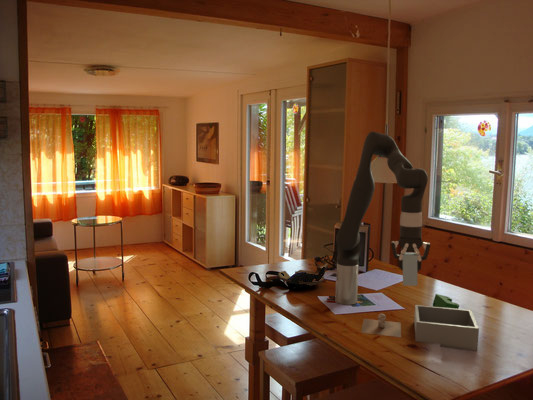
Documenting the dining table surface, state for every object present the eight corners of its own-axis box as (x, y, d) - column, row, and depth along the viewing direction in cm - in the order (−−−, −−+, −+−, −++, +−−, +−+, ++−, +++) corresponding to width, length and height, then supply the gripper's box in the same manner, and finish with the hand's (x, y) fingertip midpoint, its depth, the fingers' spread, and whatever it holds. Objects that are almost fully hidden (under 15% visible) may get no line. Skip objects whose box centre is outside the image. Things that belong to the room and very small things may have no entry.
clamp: (451, 324, 192) (461, 309, 188) (438, 321, 192) (447, 305, 188) (444, 304, 203) (453, 289, 198) (431, 301, 202) (440, 286, 198)
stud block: (361, 335, 171) (361, 318, 170) (363, 321, 184) (364, 305, 183) (400, 339, 167) (401, 322, 166) (400, 325, 180) (401, 309, 180)
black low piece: (270, 280, 237) (270, 265, 236) (323, 275, 247) (323, 261, 246) (286, 294, 216) (286, 278, 215) (343, 288, 226) (344, 272, 225)
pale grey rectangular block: (402, 281, 173) (402, 252, 172) (417, 282, 172) (416, 252, 171) (402, 285, 169) (402, 255, 168) (417, 285, 167) (417, 255, 166)
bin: (415, 343, 164) (416, 322, 163) (414, 324, 181) (415, 304, 180) (477, 351, 158) (478, 328, 157) (469, 330, 176) (471, 310, 175)
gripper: (431, 223, 170) (430, 268, 172) (390, 221, 174) (389, 266, 176) (432, 226, 162) (431, 274, 164) (390, 225, 166) (389, 271, 168)
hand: (409, 270), depth 170 cm, fingers closed on pale grey rectangular block, 5 cm apart
